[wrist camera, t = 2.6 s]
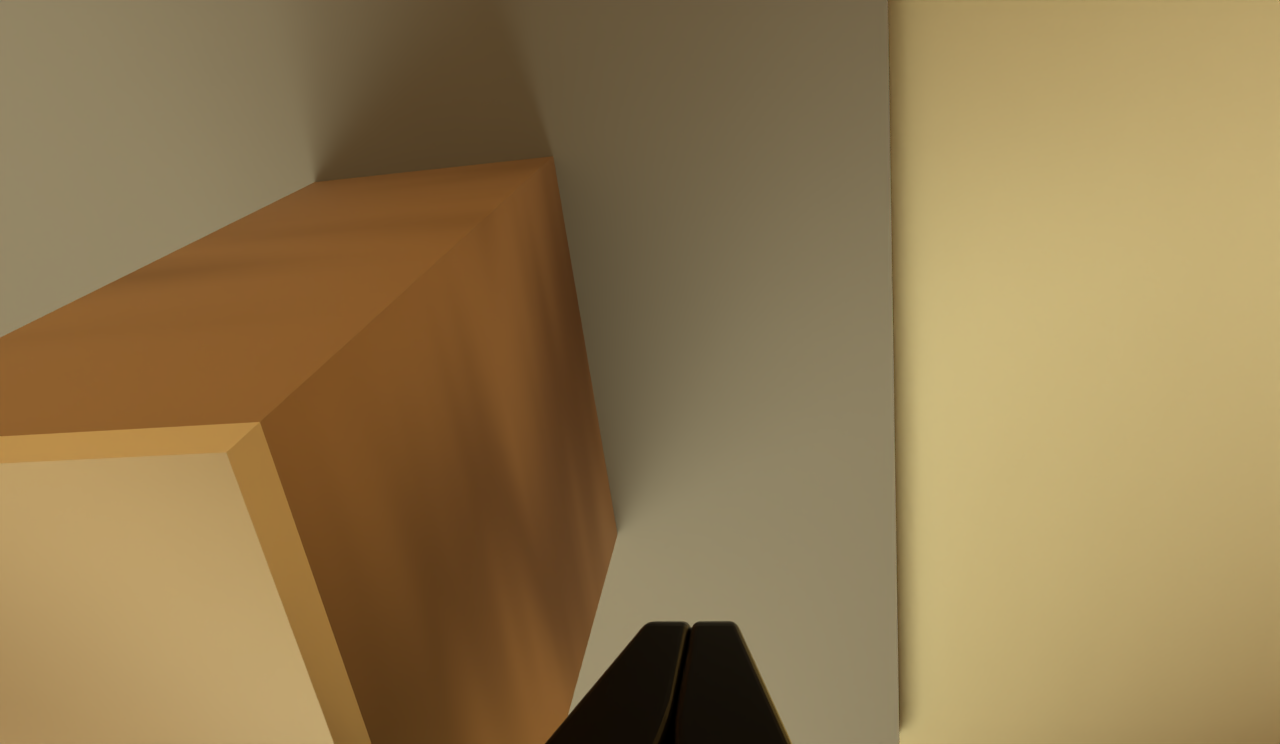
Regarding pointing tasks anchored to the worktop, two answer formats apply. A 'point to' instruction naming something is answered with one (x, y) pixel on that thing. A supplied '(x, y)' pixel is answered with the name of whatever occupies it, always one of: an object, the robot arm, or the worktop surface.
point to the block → (310, 479)
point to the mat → (598, 244)
